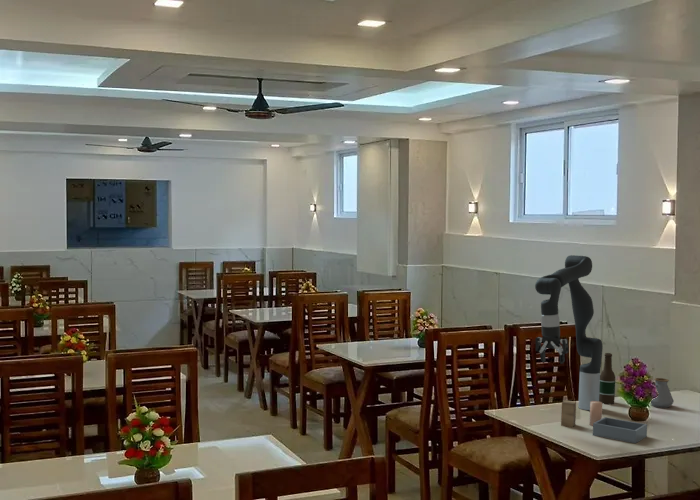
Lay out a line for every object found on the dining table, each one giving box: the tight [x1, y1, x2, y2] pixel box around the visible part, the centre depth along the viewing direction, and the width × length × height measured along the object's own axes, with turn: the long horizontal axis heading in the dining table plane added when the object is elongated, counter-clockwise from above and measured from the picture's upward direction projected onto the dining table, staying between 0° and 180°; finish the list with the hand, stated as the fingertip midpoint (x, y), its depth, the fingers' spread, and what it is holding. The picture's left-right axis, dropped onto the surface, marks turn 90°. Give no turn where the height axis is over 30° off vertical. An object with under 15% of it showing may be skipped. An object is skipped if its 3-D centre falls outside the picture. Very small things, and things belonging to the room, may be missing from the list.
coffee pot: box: [650, 377, 674, 409], centre depth 391 cm, size 21×12×15 cm, turn 116°
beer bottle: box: [599, 352, 616, 405], centre depth 397 cm, size 8×8×24 cm
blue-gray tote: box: [592, 416, 648, 444], centre depth 338 cm, size 14×18×5 cm
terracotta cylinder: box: [589, 401, 603, 427], centre depth 354 cm, size 5×5×10 cm
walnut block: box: [560, 399, 577, 428], centre depth 353 cm, size 5×5×10 cm
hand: (552, 362), depth 349 cm, fingers open, 8 cm apart
